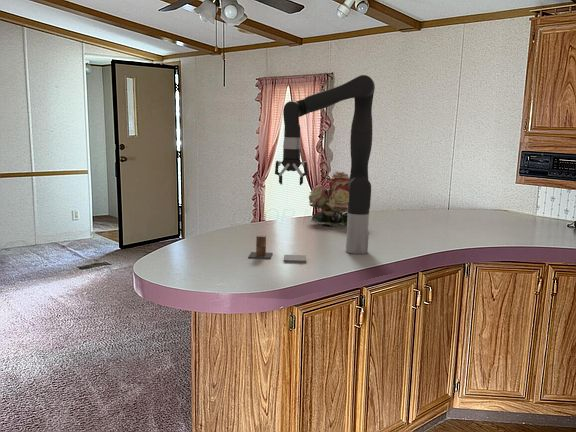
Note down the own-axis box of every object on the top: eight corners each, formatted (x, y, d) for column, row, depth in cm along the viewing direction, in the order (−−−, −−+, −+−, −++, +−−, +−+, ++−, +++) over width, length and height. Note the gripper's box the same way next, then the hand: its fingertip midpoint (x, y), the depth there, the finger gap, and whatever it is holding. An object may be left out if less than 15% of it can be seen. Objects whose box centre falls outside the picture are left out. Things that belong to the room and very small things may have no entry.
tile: (306, 255, 218) (306, 260, 209) (305, 259, 218) (306, 264, 209) (284, 254, 218) (283, 259, 209) (284, 258, 218) (283, 263, 209)
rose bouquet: (302, 220, 311) (303, 169, 306) (344, 218, 323) (347, 169, 318) (323, 228, 288) (325, 173, 283) (368, 225, 300) (371, 173, 295)
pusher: (265, 253, 220) (266, 235, 219) (264, 255, 217) (265, 236, 216) (257, 253, 221) (257, 234, 219) (256, 255, 217) (256, 236, 216)
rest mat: (272, 254, 223) (272, 252, 223) (270, 259, 214) (270, 257, 214) (251, 253, 224) (251, 251, 224) (248, 258, 215) (248, 256, 215)
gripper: (308, 148, 235) (307, 184, 237) (276, 147, 236) (275, 183, 238) (307, 148, 228) (306, 186, 230) (274, 147, 228) (274, 185, 231)
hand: (290, 184), depth 234 cm, fingers open, 8 cm apart
